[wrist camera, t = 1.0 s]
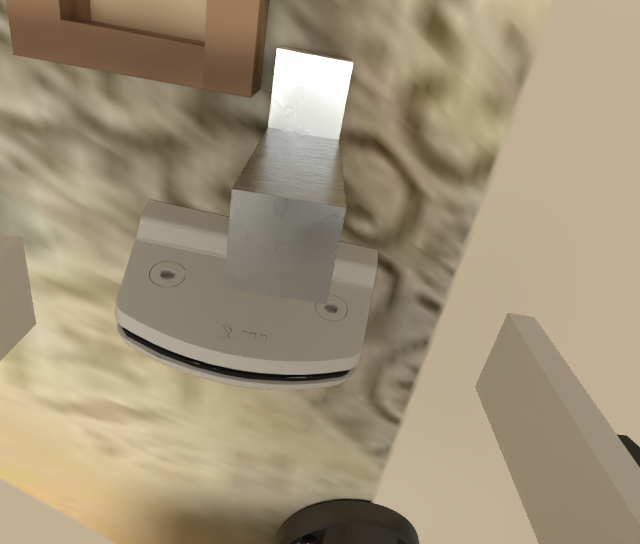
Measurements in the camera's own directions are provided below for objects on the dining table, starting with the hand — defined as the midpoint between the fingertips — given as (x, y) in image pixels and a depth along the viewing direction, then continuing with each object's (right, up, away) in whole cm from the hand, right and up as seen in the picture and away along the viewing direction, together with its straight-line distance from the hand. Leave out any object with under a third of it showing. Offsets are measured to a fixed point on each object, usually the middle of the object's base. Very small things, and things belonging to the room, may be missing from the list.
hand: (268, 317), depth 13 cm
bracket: (+1, +10, +15) cm, 19 cm away
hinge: (-3, +1, +21) cm, 21 cm away
